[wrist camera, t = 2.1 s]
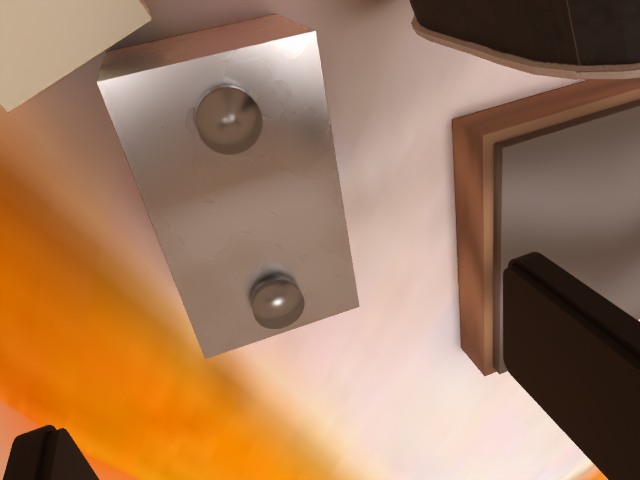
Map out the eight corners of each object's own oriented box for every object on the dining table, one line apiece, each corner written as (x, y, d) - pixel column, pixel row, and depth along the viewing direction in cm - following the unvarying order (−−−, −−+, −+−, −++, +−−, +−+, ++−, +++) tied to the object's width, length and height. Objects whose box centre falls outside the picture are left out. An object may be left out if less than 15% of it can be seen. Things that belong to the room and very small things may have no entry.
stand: (452, 119, 23) (491, 139, 20) (640, 64, 24) (698, 76, 22) (461, 348, 30) (491, 384, 27) (605, 293, 32) (645, 322, 29)
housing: (106, 50, 17) (94, 87, 13) (273, 13, 19) (322, 34, 14) (192, 282, 23) (207, 372, 18) (318, 242, 24) (366, 317, 19)
